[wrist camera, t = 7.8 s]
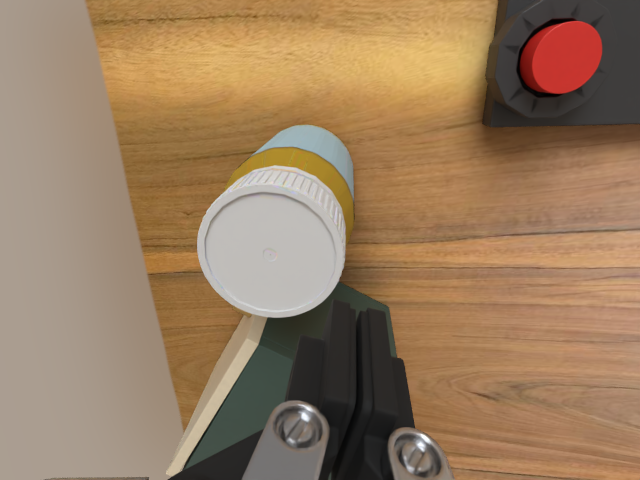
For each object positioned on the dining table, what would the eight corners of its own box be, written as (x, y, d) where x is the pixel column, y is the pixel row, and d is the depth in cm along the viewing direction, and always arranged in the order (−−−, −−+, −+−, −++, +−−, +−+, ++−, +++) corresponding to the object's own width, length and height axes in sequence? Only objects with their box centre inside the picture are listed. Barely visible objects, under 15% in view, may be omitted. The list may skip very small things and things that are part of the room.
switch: (471, 124, 27) (487, 131, 24) (487, -8, 24) (508, -20, 21) (678, 119, 26) (723, 126, 23) (723, -20, 23) (784, -34, 20)
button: (514, 93, 23) (526, 94, 22) (525, 25, 22) (539, 22, 20) (576, 91, 23) (593, 92, 21) (591, 23, 22) (610, 19, 20)
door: (203, 357, 37) (146, 466, 27) (264, 245, 32) (223, 327, 22) (223, 366, 38) (175, 478, 27) (287, 257, 32) (258, 344, 22)
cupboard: (226, 365, 38) (178, 479, 27) (288, 255, 32) (258, 344, 22) (315, 406, 39) (302, 529, 29) (389, 306, 34) (407, 414, 23)
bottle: (371, 177, 29) (389, 270, 16) (302, 229, 31) (264, 351, 18) (313, 102, 27) (275, 133, 14) (244, 163, 30) (151, 242, 16)
